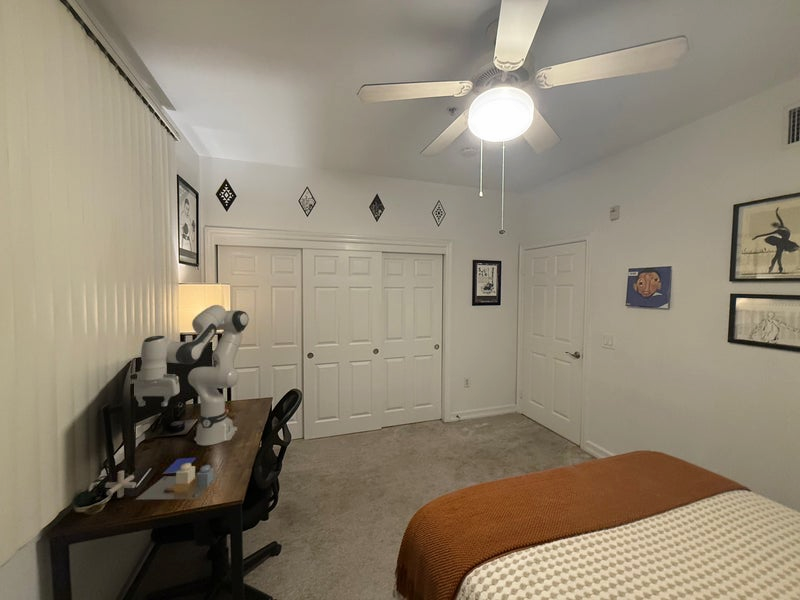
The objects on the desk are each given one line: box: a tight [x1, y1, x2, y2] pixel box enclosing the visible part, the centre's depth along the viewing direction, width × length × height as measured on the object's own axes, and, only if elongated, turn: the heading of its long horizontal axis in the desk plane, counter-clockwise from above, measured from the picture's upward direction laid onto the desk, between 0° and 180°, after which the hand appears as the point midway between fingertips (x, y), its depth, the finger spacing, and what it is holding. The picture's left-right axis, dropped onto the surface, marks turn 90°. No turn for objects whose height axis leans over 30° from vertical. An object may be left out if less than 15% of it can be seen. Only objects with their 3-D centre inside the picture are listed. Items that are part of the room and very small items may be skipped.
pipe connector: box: [104, 470, 137, 498], centre depth 117 cm, size 10×10×10 cm
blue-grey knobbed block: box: [195, 464, 215, 485], centre depth 127 cm, size 4×4×6 cm
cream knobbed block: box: [175, 463, 196, 484], centre depth 121 cm, size 4×4×6 cm
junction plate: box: [135, 475, 219, 500], centre depth 123 cm, size 15×22×1 cm
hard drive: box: [162, 457, 197, 475], centre depth 139 cm, size 2×8×12 cm
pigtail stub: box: [164, 477, 197, 495], centre depth 121 cm, size 5×11×4 cm, turn 92°
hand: (153, 405), depth 134 cm, fingers open, 8 cm apart
